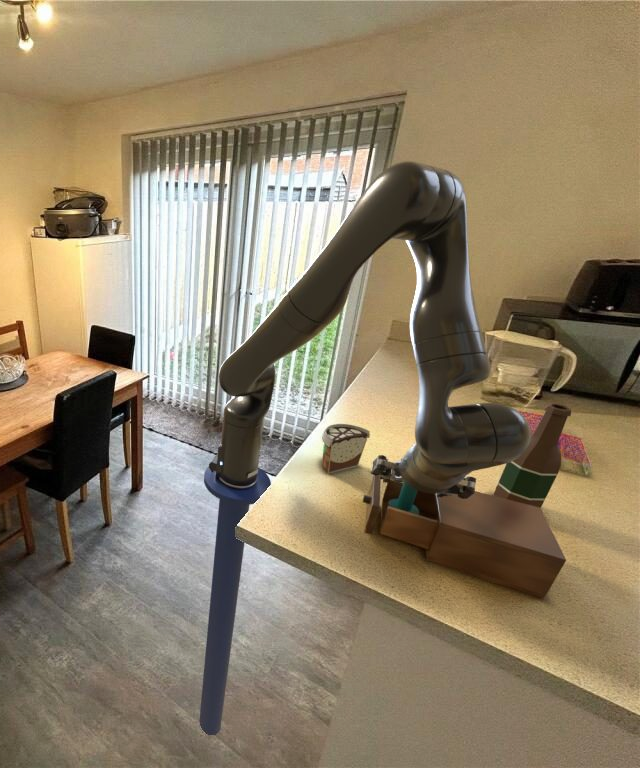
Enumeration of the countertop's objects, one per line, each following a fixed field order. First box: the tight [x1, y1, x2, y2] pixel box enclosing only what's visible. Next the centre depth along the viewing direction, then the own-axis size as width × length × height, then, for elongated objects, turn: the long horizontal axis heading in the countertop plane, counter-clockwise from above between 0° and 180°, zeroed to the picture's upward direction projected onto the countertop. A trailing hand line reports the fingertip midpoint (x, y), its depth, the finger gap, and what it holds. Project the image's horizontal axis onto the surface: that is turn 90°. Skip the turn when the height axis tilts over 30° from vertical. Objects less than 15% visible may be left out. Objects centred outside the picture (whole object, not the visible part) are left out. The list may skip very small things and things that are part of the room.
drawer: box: [362, 474, 439, 550], centre depth 77 cm, size 16×13×7 cm
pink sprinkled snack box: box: [516, 409, 593, 477], centre depth 106 cm, size 30×15×5 cm, turn 139°
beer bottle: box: [492, 403, 572, 509], centre depth 80 cm, size 8×8×24 cm
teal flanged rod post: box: [385, 482, 419, 515], centre depth 76 cm, size 5×5×12 cm
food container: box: [321, 423, 371, 474], centre depth 98 cm, size 12×6×10 cm, turn 108°
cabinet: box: [425, 490, 567, 600], centre depth 72 cm, size 16×14×9 cm
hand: (411, 484), depth 75 cm, fingers open, 8 cm apart
